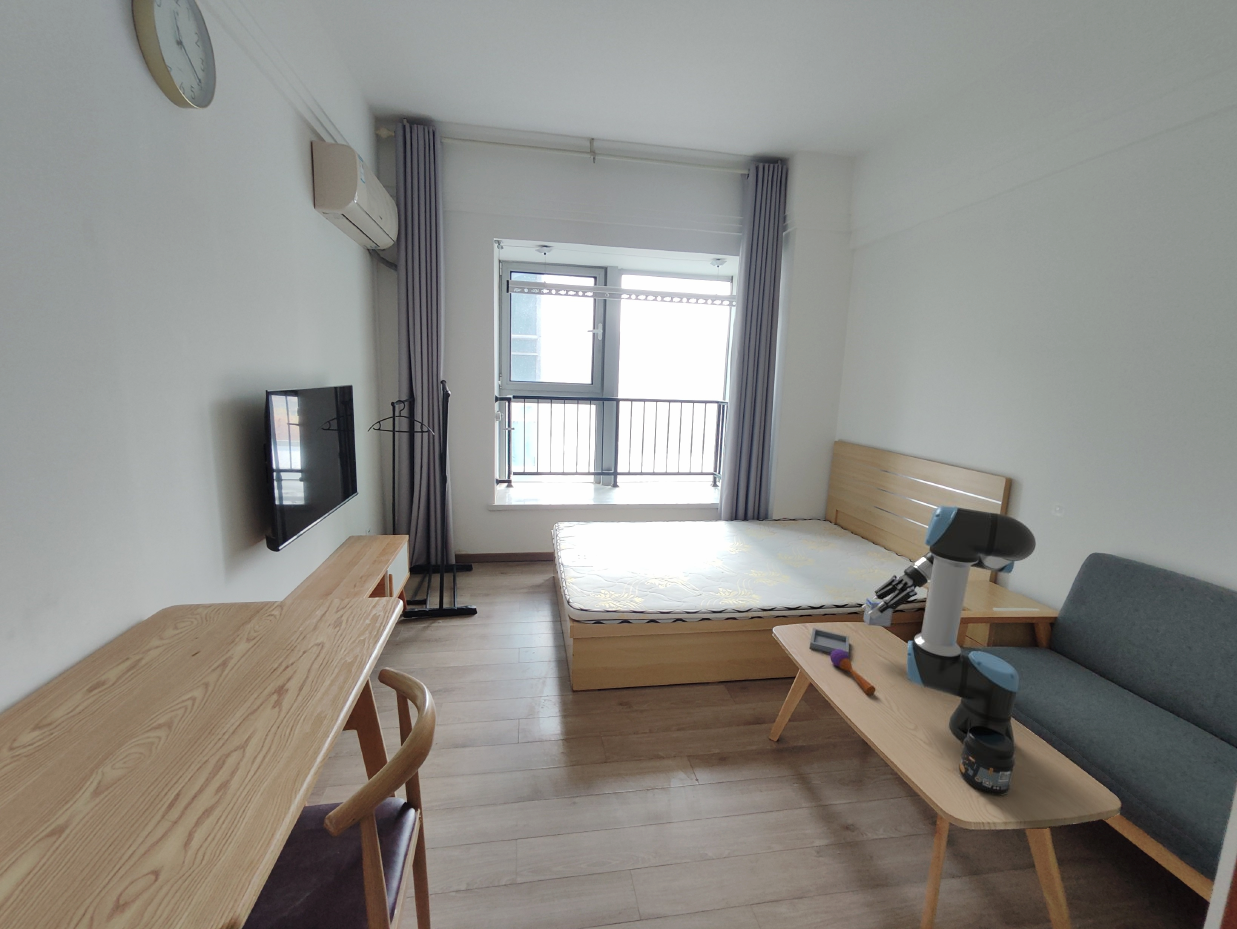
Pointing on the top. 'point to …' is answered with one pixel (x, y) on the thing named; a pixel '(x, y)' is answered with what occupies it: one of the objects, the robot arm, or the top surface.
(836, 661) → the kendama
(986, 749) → the supplement container
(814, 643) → the tray
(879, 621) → the medicine box
